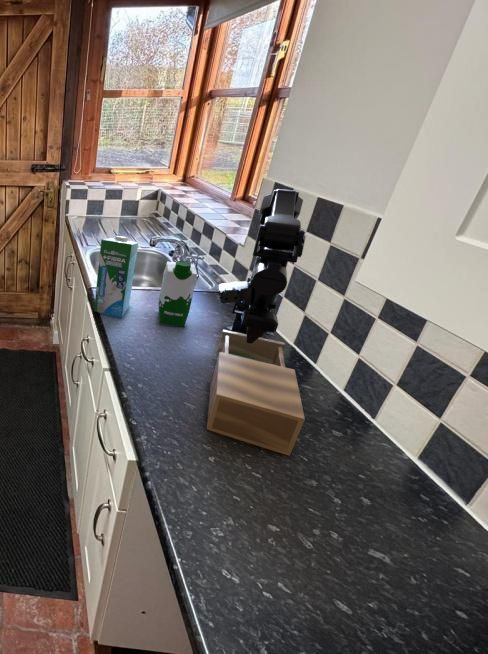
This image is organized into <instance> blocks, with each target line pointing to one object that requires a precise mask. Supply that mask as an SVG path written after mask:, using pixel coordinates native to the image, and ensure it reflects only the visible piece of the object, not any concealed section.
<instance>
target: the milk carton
mask: <svg viewBox="0 0 488 654" xmlns="http://www.w3.org/2000/svg"><path fill="white" fill-rule="evenodd" d="M129 239H130V238H129V237H128V236H123V235H115V238H114V237H108V238H102V239H100V248H99V259H98V267H97V278H96V287H95V295H94V298H95V299H94V304H93V306H94V307H93V312H94V313H95V312H96V313H99V314H104V315H108V316H111V317H114V318H119V319H122V318H123V317H124V315H125V313H126V312H127V310H128V309H129V307H130V303H131V296H132V289H133V282H134V275H135V269H136V262H137V261H136V260H137V255H138V254H137V253H138V247H139V241H138V242H136V241H132V240H129Z"/></svg>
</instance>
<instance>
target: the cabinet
mask: <svg viewBox="0 0 488 654" xmlns="http://www.w3.org/2000/svg"><path fill="white" fill-rule="evenodd" d="M305 418H306V417H305V414H304V409H303V403H302V398H301V394H300V389H299V384H298V379H297V374H296V370H295V369H293V368H290V367H286V366H285V367H281V366H277V365H273V364H269V363H264V362H260V361H256V360H252V359H248V358H244V357H239V356H235V355H231V354H227V353H223V352H219V355H218V356H217V359H216V362H215V367H214V369H213V374H212V377H211V381H210V388H209V401H208V410H207V423H206V430H207V431H210V432H213V433H216V434H218V435H219V434H220V435H223V436H226V437H229V438H232V439H236V440H238V441H242V442H244V443H248V444H252V445H254V446H258V447H259V448H264V449H267V450H270V451H273V452H275V453H278V454H282V455H285V456H287V457H288V456H289V457H290V456H291V453H292V451H293V450H294V446H295V444H296V441H297V439H298V437H299V434H300V432H301V429H302V427H303V424H304V422H305Z"/></svg>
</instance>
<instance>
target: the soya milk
mask: <svg viewBox="0 0 488 654" xmlns="http://www.w3.org/2000/svg"><path fill="white" fill-rule="evenodd" d="M162 276H163V277H162V281H161V286H160V290H159V298H158V320H159V321H158V322H159V324H160V325H166V326H173V327H178V328H179V327H180V328H185V326H186V324H187V323H186V322H187V320H188V316H189V313H190V311H191V310H190V309H191V305H192V301H193V296H194V292H195V287H196V281H197V276H198V272H197V269H196V266H195V264H194V263H190V262H189V261H184V260H178V261H166V264H165V268H164V270H163V274H162Z"/></svg>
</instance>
